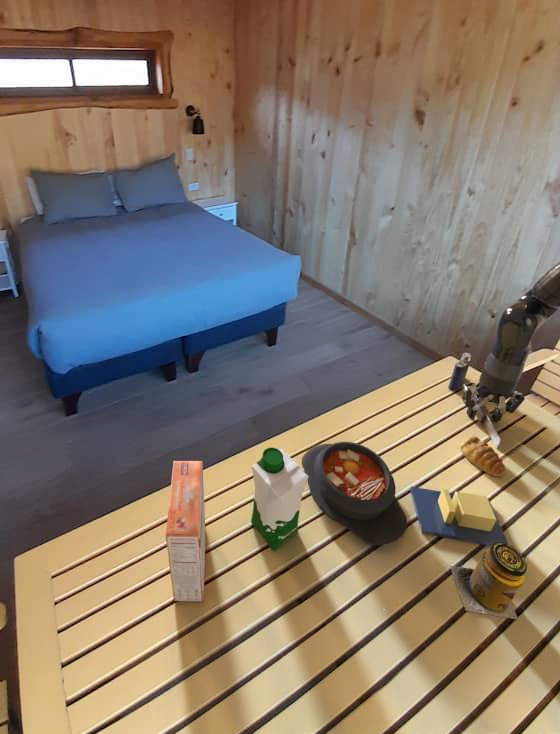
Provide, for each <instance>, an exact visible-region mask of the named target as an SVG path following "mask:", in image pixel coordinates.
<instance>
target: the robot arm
mask: <svg viewBox="0 0 560 734" xmlns="http://www.w3.org/2000/svg"><path fill="white" fill-rule="evenodd" d="M559 310H560V261H559V262H557V263H556V264H555V265H554V266H552V267H551V268H550V269H549V270H548V271H546V272H545V274H544V275H542V276H540V278H539V279H538V280H537V281H536V282H535V283H534V284H533V286H532V288H530V289H529V290H528V291H526V292H525V293H524V294H523V295H522V296H521V297H519V298H518V299H517V300H516V301H514V302H513V303H512V304H510V305H509V306H508V307H506V308H505V309H504V310H503V312H502V314H501V315H500V318H499V320H498V326H497V333H496V338H495V340H494V343H493V346H492V348H491V351H490V352H489V354H488V355H487V358H486V360H485V362H484V365H483V368H482V370H481V373H480V376H479V379H478V382H477V383H476V384H475V386H474V385H471V386H470V385H469V384H467V383H463V384H462V401H463V404H464V405H465V407H466V408H467V410H466V415H467V417H468V418H469V420H472V421H474V420H475V417H477V416H476V413H477V409H478V408H479V407H480V406H484V405H485V406H486V404H487V403H488V404H489V403H493V404H495V405H496V407H494V409H493V411H492V413H491V419H490V420H491V422H492V423H493V424H498V423H499V422H500V421H501V420H502V418H503V416H504V415H505V414H506V413H509V414H514V413H515V412H516V410H517V409H518V408H519V407H520V406H521V404H522V403H523V402H524V401H525V399H526V398H525V396H524V394H523V393H522V392H521V390H516V388H517V385H518V384H519V381H520V379H521V376H522V374H523V373H524V369H525V365H526V362H527V360H528V357H529V355H530V354H531V351H532V339H533V336H534V335H535V333H536V331H537V330H538V329H539V328H540V327H541V326H542V325H543V324H544V323H546V322H547V321H548V320H549V319H550V318H551V317H553V315H555V314H556V313H557V312H558V311H559ZM475 392H476V393H475ZM472 396H473V397H472Z"/></svg>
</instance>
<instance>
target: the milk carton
mask: <svg viewBox="0 0 560 734" xmlns="http://www.w3.org/2000/svg"><path fill="white" fill-rule="evenodd" d="M251 471H252V477H253V483H254V490H253V504H252V505H253V507H252V514H251V520H250V524H252V526H253V527H254V528H255V530H256V531H257V532H258V534H259V535H260V536H261V538H263V540H264V541H265V543H266V544H267V545H268V547H269V548H270V549H271V550H272V552H275V551H276V550H277V549H279V548H280V547H281V546H282V545H284V544H285V543H286V542H288V540H290V539H291V538H292V537H294V536H295V535H296V534H298V533H299V516H300V512H301V503H302V498H303V493H304V491H305V487H306V484H307V483H308V475H307V474H306V473H305V471H304V469H303V468H301V467H300V465H299V464H298V463H296V461H294V460H293V458H292V457H290V456H289V454H287V453H286V452H285V451H284V450H283V449H282V448H281V447H279V448H277V447H267V448H265V449H264V451H263V452H262V456H261V458H260V459H259V460H258V461H256V462H255V463H254V464H253V465H252V466H251Z"/></svg>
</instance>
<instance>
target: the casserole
mask: <svg viewBox="0 0 560 734" xmlns="http://www.w3.org/2000/svg"><path fill="white" fill-rule="evenodd" d="M301 466H302V470H303V471H304V472H305V473H306V474H307V475H308V479H307V483H308V488H309V492H310V495H311V497H312V499H313V501H314V502H315V504H316V505H317V507H318V509H320V510H321V512H322V513H323V514H324V515H326V516H327V517H328V518H329V519H331V520H332V521H333V522H335V523H337V524H338V525H340V526H342V527H344V528H346V529H347V530H349V531H351V532H352V533H353V534H354V535H355V536H356V537H358V538H359V539H360V540H362V541H363V542H365V543H366V544H369V545H372V546H387V545H391V544H393V543H395V542H397V541H398V540H399V539H400V538H402V536H403V535H404V534H405V532H406V531H407V527H408V524H409V523H408V517H407V515H406V514H405V512H404V510H403V508H402V507H401V505H400V504H399V501H398V500H397V497H396V490H397V489H396V488H397V487H396V483H395V479H394V476H393V474H392V472H391V470H390V468H389V467H388V465H387V463H386V462H385V460H384V459H382V457H381V456H380V455H379V454H378V453H376V452H375V451H373V450H372V449H370V448H369V447H367V446H364V445H363V444H360V443H356V442H353V441H337V442H334V443H323V444H322V443H321V444H319V445H316V446H313V447H311V448H310V449H308V450H307V451H306V452H305V453H304V455H303V456H302V458H301Z"/></svg>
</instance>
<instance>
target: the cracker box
mask: <svg viewBox="0 0 560 734" xmlns="http://www.w3.org/2000/svg"><path fill="white" fill-rule="evenodd" d="M203 465H204V464H203V460H173V464H172V473H171V481H170V482H171V483H170V491H169V492H170V493H169V503H168V512H167V521H166V528H165V529H166V531H165V541H166V548H167V549H166V550H167V556H168V563H169V572H170V582H171V588H172V596H173V601H174V602H192V603H193V602H194V603H195V602H197V603H198V602H199V603H204V601H205V578H206V577H205V574H206V573H205V572H206V508H205V507H206V506H205V490H204V489H205V488H204V468H203Z"/></svg>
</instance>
